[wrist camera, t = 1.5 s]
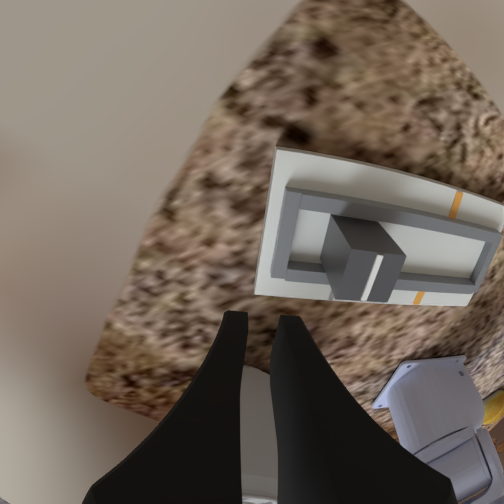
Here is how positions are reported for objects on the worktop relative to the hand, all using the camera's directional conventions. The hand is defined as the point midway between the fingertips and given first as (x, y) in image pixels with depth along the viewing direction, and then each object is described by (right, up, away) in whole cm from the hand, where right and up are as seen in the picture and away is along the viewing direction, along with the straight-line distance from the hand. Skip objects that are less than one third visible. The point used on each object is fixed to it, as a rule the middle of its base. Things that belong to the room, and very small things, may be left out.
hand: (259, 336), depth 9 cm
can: (-1, -9, +16) cm, 19 cm away
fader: (+5, +3, +8) cm, 10 cm away
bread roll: (+41, -23, +25) cm, 53 cm away
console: (+9, +4, +9) cm, 13 cm away
